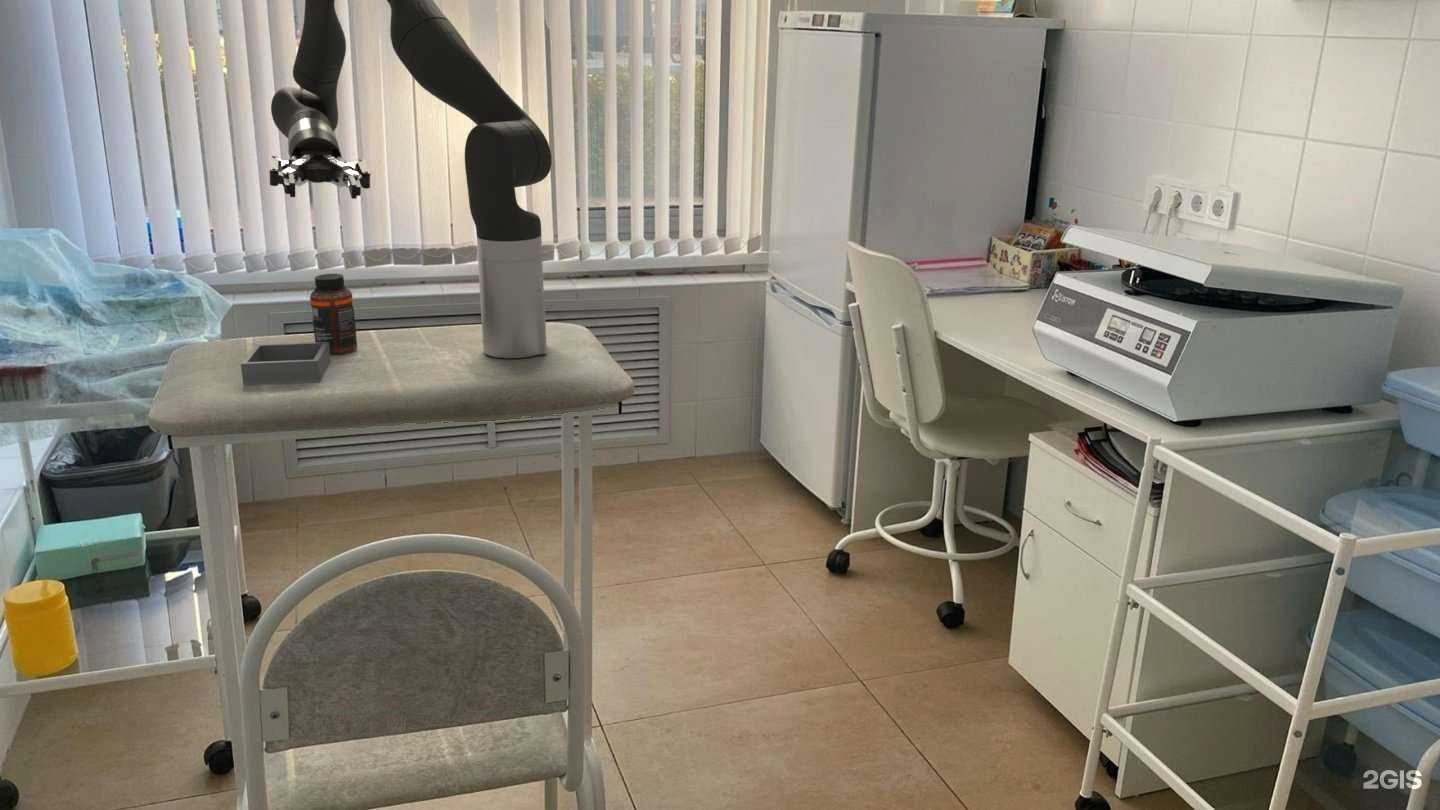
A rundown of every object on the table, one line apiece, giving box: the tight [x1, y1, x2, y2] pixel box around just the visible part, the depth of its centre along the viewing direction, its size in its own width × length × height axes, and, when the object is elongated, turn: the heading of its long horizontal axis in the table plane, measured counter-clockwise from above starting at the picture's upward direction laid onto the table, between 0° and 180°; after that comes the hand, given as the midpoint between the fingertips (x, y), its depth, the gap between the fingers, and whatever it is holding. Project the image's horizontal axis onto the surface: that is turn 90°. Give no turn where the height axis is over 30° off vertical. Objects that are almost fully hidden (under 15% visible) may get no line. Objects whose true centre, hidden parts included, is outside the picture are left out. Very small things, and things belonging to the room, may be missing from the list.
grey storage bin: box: [240, 341, 332, 386], centre depth 158 cm, size 10×10×3 cm
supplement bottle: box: [309, 273, 358, 356], centre depth 167 cm, size 6×6×11 cm
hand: (324, 192), depth 166 cm, fingers open, 8 cm apart
